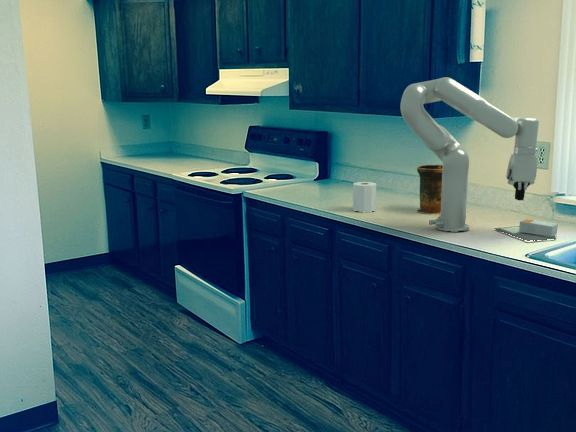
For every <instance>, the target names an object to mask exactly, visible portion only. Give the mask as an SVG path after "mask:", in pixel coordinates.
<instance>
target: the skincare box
mask: <svg viewBox="0 0 576 432" xmlns="http://www.w3.org/2000/svg"><path fill="white" fill-rule="evenodd" d="M558 224H559V223H556V222H548V221H543V220H535V219H530V218H524V219H522V220H520V221H519V225H518V226H519V232H523V233H529V234H535V235H541V236H547V237H554V236H556V235H557V234H558V226H559V225H558Z"/></svg>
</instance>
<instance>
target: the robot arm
mask: <svg viewBox="0 0 576 432" xmlns="http://www.w3.org/2000/svg"><path fill="white" fill-rule="evenodd" d="M440 101H442V102H443V103H445V104H447V105H448V106H450V107H451V108H453V109H455V110H456V111H458V112H460V113H461V114H463V115H464V116H465V117H468V118H469V119H471V120H473V121H476V122H477V123H479V124H480V125H482V126H483V127H485V128H486V129H488V130H490V131H491V132H493V133H494V134H496V135H498V136H500V137H501V138H504V139H510V138H513V137H514V136H515V137H514V138H515V139H514V147H513V148H514V149H513V154H511V155H510V157H509V161H508V164H507V170H506V175H505V176H506V180H508V181H507V184H508V185H511V186H512V187H513V188H514V189H515V192H514V199H515V200H517V201H524V199H525V193H526V190H527V189H528V188H529V186H531V185H534V184H535V181H536V180H537V179H536V178H537V173H538V172H537V171H538V161H537V159H538V158H537V155H536V152H538V151H539V148H538V147H537V141H538V133H539V126H540V121H539V119H538V118H535V117H528V116H527V117H525V116H524V117H516V116H509V115H508V114H507V113H505V112H503V111H502V110H500V109H499V108H497V107H495V106H494V105H493V104H491V103H489V102H488V101H487V100H486V99H485V98H484V97H482V96H480V95H479V94H477V93H475V92H474V91H473V90H470V88H468V87H466V86H464V85H463V84H461V83H459V82H457V81H456V80H455V79H453V78H451V77H447V76H445V77H440V78H437V79H432V80H426V81H421V82H420V81H419V82H415V83H411V84H408V86H407V87H406V88H405V89H404V91H403V94H402V96H401V100H400V103H399V104H400V113H401V117H402V118H403V121H404V122H405V123H406V125H407V126H408V127H409V128H410V129H411V131H413V133H414V135H416V136H417V137H418V138H419V139H420V140H421V141H422V142H423V144H424V145H425V148H427V149H429V150H430V151H432V152H433V154H434V155H436V157H438V159H439V160H440V161H441V162H442V165H443V168H442V192H441V214H440V215H439V216H437V218H436V219H429V220H428V225H429V226H432V225H435V228H436V230H439V229H440V230H439V231H442V230H443V232H447V231H451V232H450V233H459V232H458V231H464V232H467V231H469V230H470V225H469V224H466V221H467V220H466V219H467V218H466V217H467V201H468V199H467V198H468V182H469V181H468V179H469V171H470V170H469V169H470V156H469V154H468V152H467V150H466V149H465V148H464V147H463V146H462V145H461V144H460V142H459V141H458V140H456V138H455V137H454V136H453V135H452V134H451V133H450V132H449V131H448V129H446V128H445V127H444V126H442V125H440V124H439V123H437V121H436V120H435V119H434V118H433V117H432V115H430V113H428V111H427V110H426V109H425V107H424V105H425V104H426V105H427V104H431V103H435V102H440Z"/></svg>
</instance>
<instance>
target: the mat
mask: <svg viewBox="0 0 576 432" xmlns="http://www.w3.org/2000/svg"><path fill="white" fill-rule="evenodd" d="M519 226H520V225H517V226H508V227H507V226H505V227H495V228H494V229H496V230H498V231H501V232H504V233H507V234H510V235H512V236H515V237H518V238H521V239H523V240H527V241H530V240H533V241H534V240H535V241H537V240H547V239H556V240H557V238H556V237H554V236H553V237H547V236H541V235H535V234H529V233H523V232H519ZM496 230H495V231H496ZM498 231H497V232H498ZM501 232H500V233H501ZM504 233H503V234H504Z"/></svg>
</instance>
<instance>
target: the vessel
mask: <svg viewBox="0 0 576 432" xmlns="http://www.w3.org/2000/svg"><path fill="white" fill-rule="evenodd" d="M442 168H443V164H423V165H419V166H418V167H417V168H416V170H417V174H418V176H419V209H418V210H419V211H417V212H418V213H419V214H424V213H427V214H426V215H435V214H437V215H441V192H442Z"/></svg>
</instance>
